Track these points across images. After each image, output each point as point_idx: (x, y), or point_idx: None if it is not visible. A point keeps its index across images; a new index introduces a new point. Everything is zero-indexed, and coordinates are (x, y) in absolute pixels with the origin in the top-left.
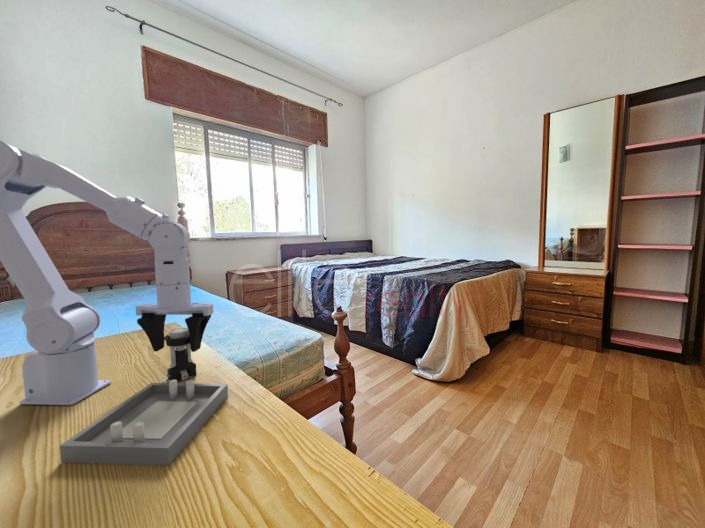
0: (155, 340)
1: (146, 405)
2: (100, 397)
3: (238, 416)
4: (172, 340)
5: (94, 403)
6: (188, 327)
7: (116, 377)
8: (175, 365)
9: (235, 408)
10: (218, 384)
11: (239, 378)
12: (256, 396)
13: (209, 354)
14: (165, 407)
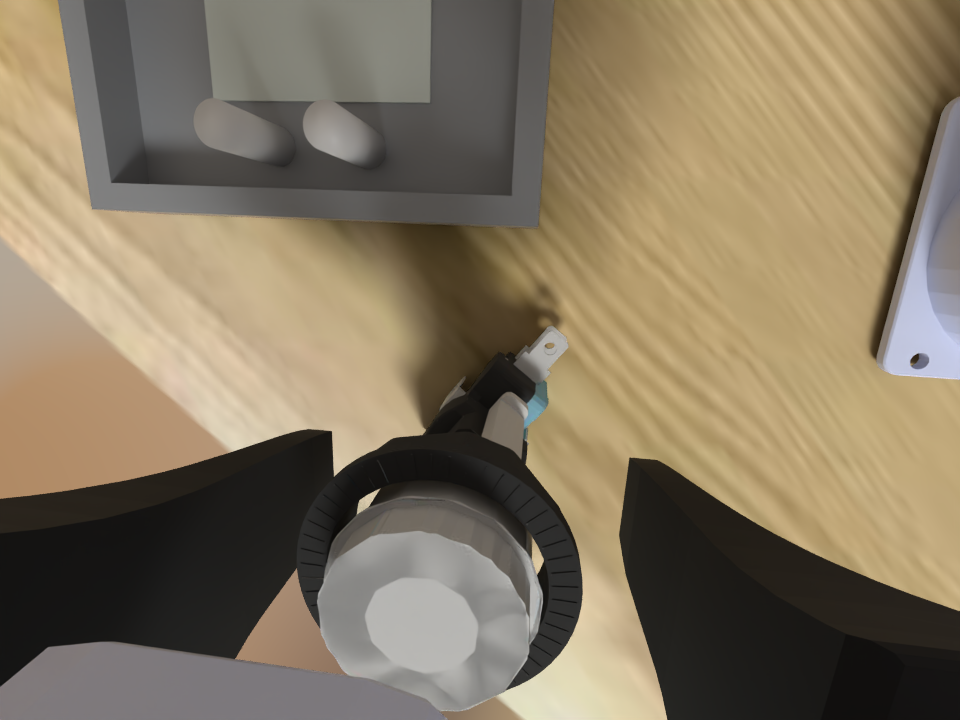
0: (662, 514)
1: (465, 62)
2: (828, 203)
3: (9, 31)
4: (425, 445)
5: (818, 136)
6: (124, 510)
7: (887, 437)
8: (490, 410)
9: (59, 101)
10: (133, 201)
11: (191, 389)
12: (26, 211)
13: None
14: (342, 34)
